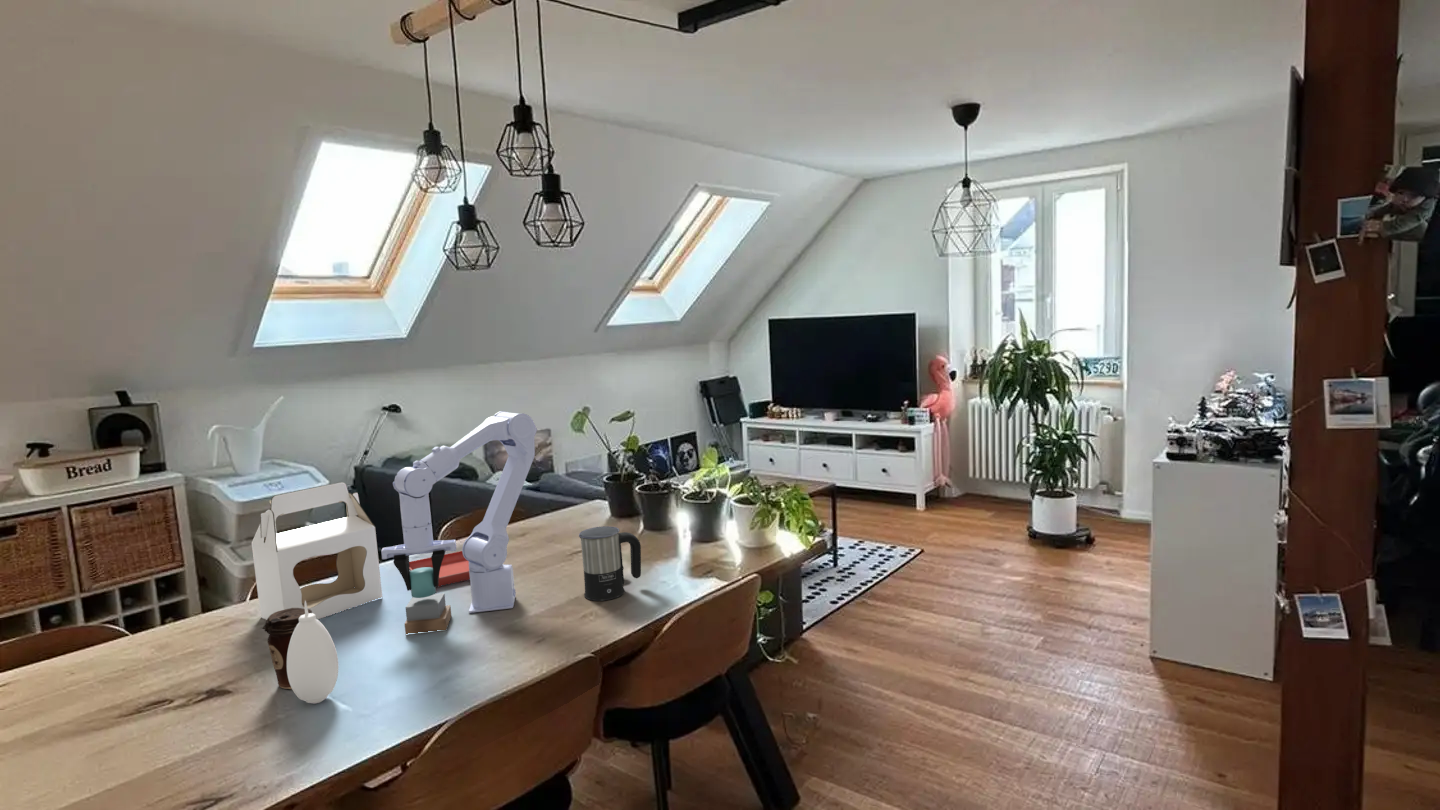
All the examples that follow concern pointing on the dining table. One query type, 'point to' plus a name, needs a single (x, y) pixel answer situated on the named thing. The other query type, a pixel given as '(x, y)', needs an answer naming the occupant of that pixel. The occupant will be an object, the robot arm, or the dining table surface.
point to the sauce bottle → (311, 660)
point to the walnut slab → (429, 623)
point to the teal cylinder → (422, 582)
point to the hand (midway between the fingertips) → (423, 587)
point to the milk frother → (607, 561)
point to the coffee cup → (282, 639)
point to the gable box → (316, 554)
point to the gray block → (425, 607)
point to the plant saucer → (447, 567)
